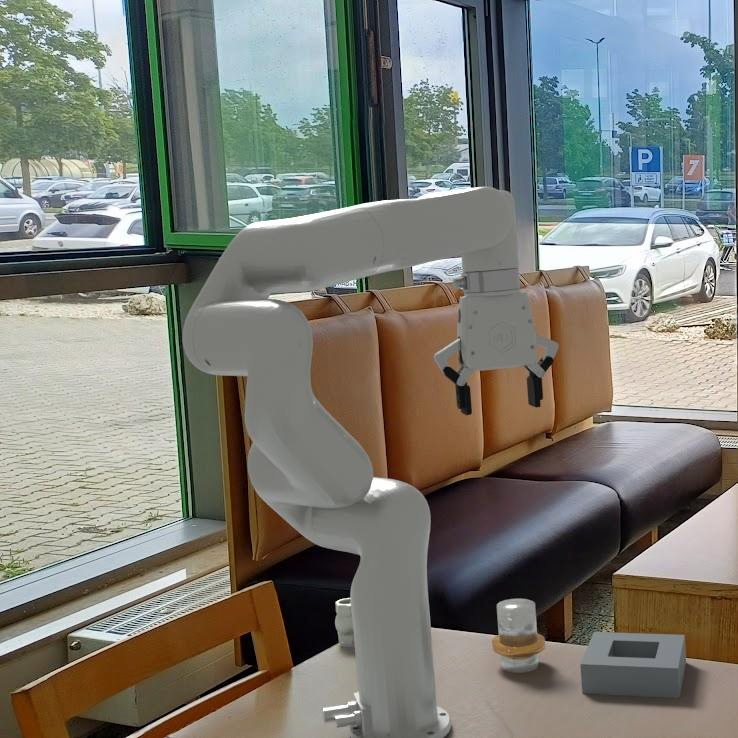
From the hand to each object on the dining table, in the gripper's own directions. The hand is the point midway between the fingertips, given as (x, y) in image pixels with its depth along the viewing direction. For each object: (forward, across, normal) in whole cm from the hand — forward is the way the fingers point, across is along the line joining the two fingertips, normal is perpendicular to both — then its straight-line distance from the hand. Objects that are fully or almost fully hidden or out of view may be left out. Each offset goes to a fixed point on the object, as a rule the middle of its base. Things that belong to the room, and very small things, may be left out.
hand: (500, 410), depth 155 cm
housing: (+36, +12, -12) cm, 40 cm away
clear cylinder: (+36, 0, -2) cm, 36 cm away
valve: (+37, -17, +18) cm, 44 cm away
